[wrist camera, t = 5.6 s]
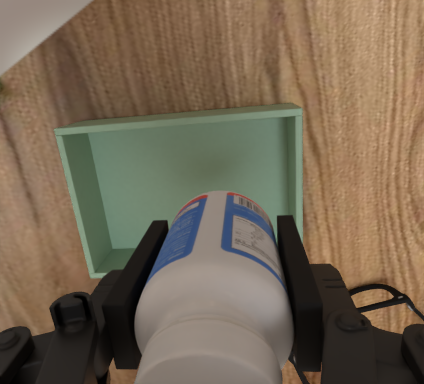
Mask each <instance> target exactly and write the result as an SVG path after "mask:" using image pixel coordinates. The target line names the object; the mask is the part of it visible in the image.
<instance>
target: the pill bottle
mask: <svg viewBox="0 0 424 384" xmlns="http://www.w3.org/2000/svg"><path fill="white" fill-rule="evenodd" d="M134 329H135V336H136V341H137V344H138V347H139V349H140V352H141V354H142V358H141V362H140V366H139V369H138V372H137V376H136V379H135V382H134V384H282V371H281V369H282V368H283V366H284V365H285V363H286V361H287V359H288V357H289V355H290V352H291V349H292V346H293V341H294V320H293V315H292V309H291V304H290V300H289V295H288V290H287V286H286V282H285V277H284V273H283V268H282V264H281V259H280V256H279V252H278V247H277V243H276V238H275V234H274V229H273V226H272V224H271V221H270V219H269V217H268V216H267V214H266V213H265V212H264V210H263V209H262V208H261V207H260V206H259V205H258V204H257V203H256V202H254V201H253V200H251V199H250V198H248V197H246V196H244V195H241V194H239V193H236V192H231V191H211V192H207V193H203V194H200V195H198V196H196V197H194V198H193V199H191V200H190V201H188V202H187V203H186V204H185V205H184V206H183V207H182V208H181V209H180V211H179V212H178V214H177V215H176V217H175V219H174V221H173V223H172V225H171V227H170V229H169V232H168V234H167V236H166V239H165V241H164V243H163V245H162V248H161V250H160V252H159V255H158V257H157V259H156V262H155V264H154V266H153V269H152V271H151V273H150V275H149V278H148V280H147V282H146V285H145V287H144V289H143V292H142V294H141V297H140V300H139V303H138V305H137V309H136V314H135V321H134Z"/></svg>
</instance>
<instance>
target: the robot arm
mask: <svg viewBox="0 0 424 384" xmlns="http://www.w3.org/2000/svg"><path fill="white" fill-rule="evenodd" d="M168 232H169V227H168V220H153V221H152V223H151V225H150V226H149V228H148V229H147V231H146V233H145V234H144V236H143V238H142V239H141V241H140V243H139V244H138V246H137V247H136V249H135V251H134V252H133V254H132V256H131V257H130V259H129V261H128V262H127V264H126V266H125V267H124V269H116V270H111V271H110V272H109V273H107V274H106V275H105V276H103V278H102V279H101V281H100V282H99V284H98V286H97V287H96V288H95V289H94V292H93V293H92V294H91V295H89V294H88V293H85V292H73V293H70V294H66V295H64V296H62V297H60V298H58V299H57V300H56V301H55V302H53V303H52V305H51V306H50V308H49V309H50V312H51V316H52V319H53V322H54V326H55V331H52V332H49V333H45V334H41V335H36V336H32V335H31V332H30V330H29V329H28V328H27V327H22V326H18V327H12V328H9V329H6V330H4V331H2V332H1V333H0V384H110V380H111V378H110V372H109V366H110V363H111V361H112V359H113V357H114V361H115V366H116V369H137V368H138V365H139V363H140V360H141V357H142V354H141V352H140V349H139V347H138V344H137V341H136V336H135V329H134V321H135V314H136V309H137V305H138V303H139V300H140V297H141V294H142V292H143V289H144V287H145V285H146V282H147V280H148V278H149V275H150V273H151V271H152V269H153V266H154V264H155V262H156V259H157V257H158V255H159V252H160V250H161V248H162V245H163V243H164V241H165V239H166V236H167V234H168ZM277 247H278V252H279V256H280V259H281V264H282V268H283V273H284V277H285V282H286V286H287V290H288V295H289V300H290V304H291V309H292V315H293V320H294V341H293V351H294V357H295V363H296V368H297V371H306V372H321V362H322V372H321V384H424V324H413V325H409V326H408V327H406V328H405V329H404V331H403V334H398V333H394V332H389V331H385V330H382V329H379V328H376V327H374V326H372V325H371V322H370V321H369V320H368V319H367V317H366V316H364V315H363V314H361V313H359V312H358V311H357V308H356V306H355V304H354V302H353V300H352V298H351V296H350V294H349V292H348V290H347V288H346V286H345V283H344V281H343V280H342V277H341V275H340V273H339V271H338V270H337V269H336V268H334V267H333V266H332V265H331V264H309V261H308V258H307V255H306V252H305V250H304V247H303V244H302V241H301V238H300V235H299V232H298V229H297V226H296V223H295V221H294V218H293V215H277Z"/></svg>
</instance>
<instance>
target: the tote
mask: <svg viewBox="0 0 424 384" xmlns="http://www.w3.org/2000/svg"><path fill="white" fill-rule="evenodd" d="M302 115H303V109H302V108H301V107H299V106H297V105H295V104H294V103H284V104H272V105H261V106H249V107H237V108H226V109H214V110H202V111H191V112H179V113H167V114H155V115H144V116H132V117H120V118H109V119H97V120H85V121H80V122H76V123H73V124H69V125H66V126H62V127H59V128H55V129H54V132H55V135H56V140H57V144H58V148H59V152H60V156H61V160H62V164H63V168H64V173H65V177H66V181H67V185H68V189H69V193H70V197H71V201H72V205H73V209H74V213H75V217H76V221H77V226H78V230H79V234H80V238H81V242H82V246H83V250H84V254H85V258H86V262H87V266H88V270H89V275H90V278H103V276H105V275H106V274H107V273H109V272H110V271H111V270H116V269H124V267H125V266H126V264H127V262H128V261H129V259H130V257H131V256H132V254H133V252H134V251H135V249H136V247H137V246H138V244H139V243H140V241H141V239H142V238H143V236H144V234H145V233H146V231H147V229H148V228H149V226H150V225H151V223H152V221H153V220H168V227H169V229H170V227H171V225H172V223H173V221H174V219H175V217H176V215H177V214H178V212H179V211H180V209H181V208H182V207H183V206H184V205H185V204H186V203H187V202H188V201H190V200H191V199H193V198H194V197H196V196H198V195H200V194H203V193H207V192H211V191H231V192H236V193H239V194H241V195H244V196H246V197H248V198H250V199H251V200H253V201H254V202H256V203H257V204H258V205H259V206H260V207H261V208H262V209H263V210H264V212H265V213H266V214H267V216H268V217H269V219H270V221H271V224H272V226H273V229H274V234H275V238H276V243H277V215H293V218H294V221H295V223H296V226H297V229H298V232H299V235H300V238H301V241H302V244H303V116H302Z"/></svg>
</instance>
